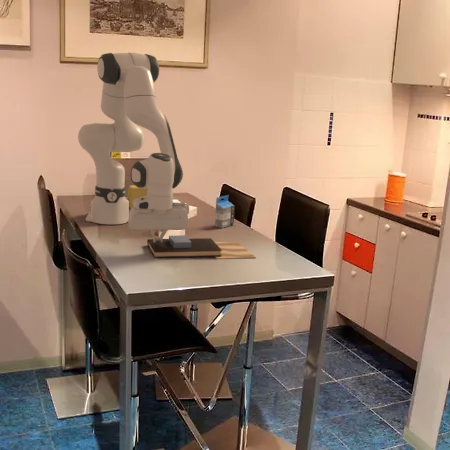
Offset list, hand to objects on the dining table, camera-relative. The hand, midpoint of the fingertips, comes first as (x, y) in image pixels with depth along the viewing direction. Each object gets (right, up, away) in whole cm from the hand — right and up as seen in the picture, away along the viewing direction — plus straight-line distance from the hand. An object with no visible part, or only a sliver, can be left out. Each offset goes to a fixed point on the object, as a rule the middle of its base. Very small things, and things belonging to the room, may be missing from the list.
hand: (157, 242), depth 206 cm
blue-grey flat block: (+7, -1, +3) cm, 8 cm away
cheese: (-16, +14, +69) cm, 72 cm away
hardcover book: (+9, -3, +4) cm, 10 cm away
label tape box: (+23, +5, +45) cm, 51 cm away
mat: (+24, -3, +9) cm, 26 cm away
